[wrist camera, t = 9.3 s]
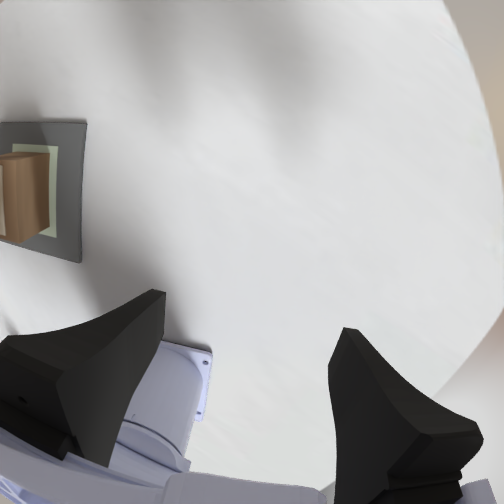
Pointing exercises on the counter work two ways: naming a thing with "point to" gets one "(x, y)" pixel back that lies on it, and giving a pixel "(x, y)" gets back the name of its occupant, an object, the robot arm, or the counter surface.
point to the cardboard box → (24, 195)
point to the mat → (54, 181)
